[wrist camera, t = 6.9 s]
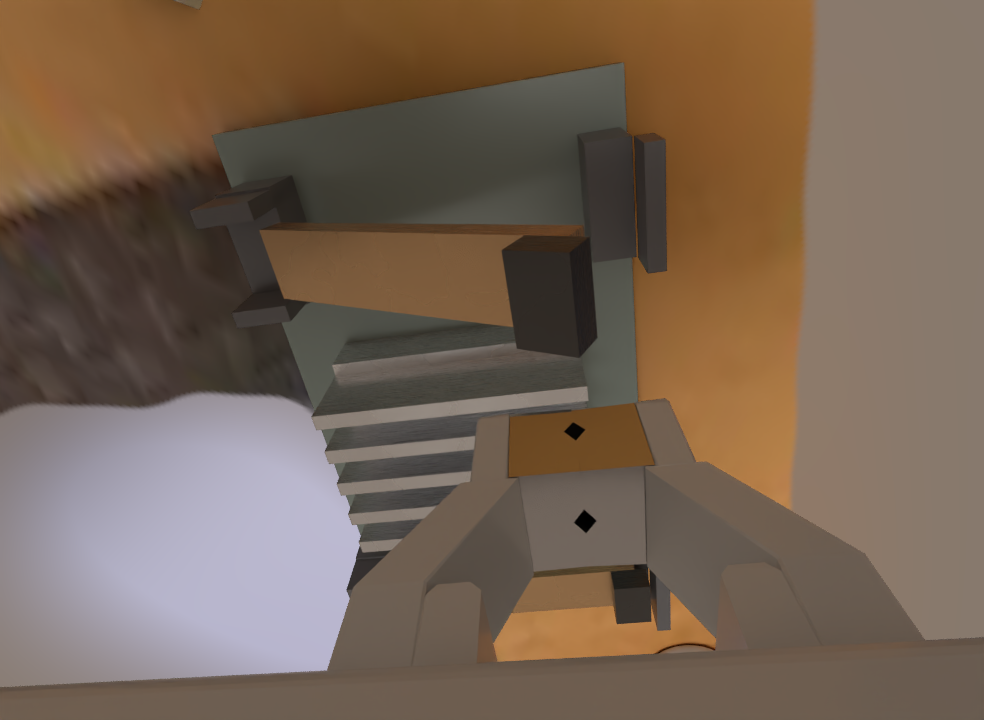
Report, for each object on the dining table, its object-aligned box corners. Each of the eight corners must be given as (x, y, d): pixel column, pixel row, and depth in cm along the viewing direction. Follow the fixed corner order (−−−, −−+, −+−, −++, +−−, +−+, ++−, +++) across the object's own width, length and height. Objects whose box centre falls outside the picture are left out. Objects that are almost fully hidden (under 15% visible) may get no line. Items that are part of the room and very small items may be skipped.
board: (389, 588, 33) (386, 603, 33) (224, 131, 21) (212, 135, 20) (641, 570, 32) (645, 585, 31) (619, 62, 20) (623, 62, 19)
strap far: (418, 606, 29) (412, 638, 27) (407, 574, 28) (400, 606, 26) (643, 589, 27) (651, 621, 26) (641, 555, 26) (650, 586, 25)
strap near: (302, 289, 20) (259, 310, 18) (278, 222, 18) (232, 240, 17) (610, 323, 13) (579, 358, 12) (604, 225, 12) (569, 253, 11)
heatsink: (389, 482, 28) (365, 560, 24) (345, 342, 24) (307, 405, 20) (588, 463, 27) (601, 542, 23) (573, 313, 23) (586, 373, 19)
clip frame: (386, 581, 32) (369, 650, 28) (242, 182, 21) (184, 209, 18) (652, 561, 30) (670, 632, 26) (638, 117, 20) (665, 131, 16)
